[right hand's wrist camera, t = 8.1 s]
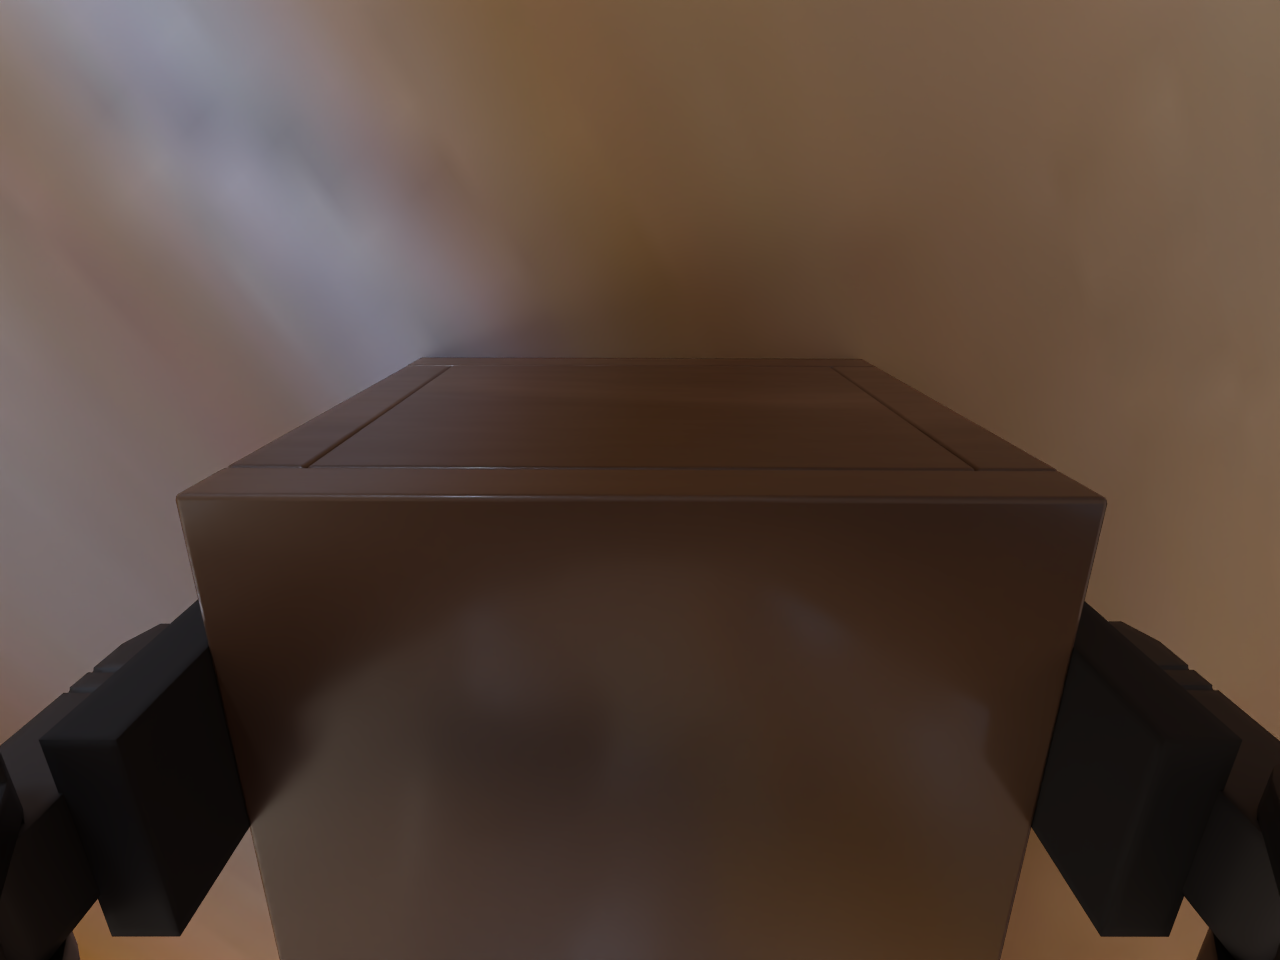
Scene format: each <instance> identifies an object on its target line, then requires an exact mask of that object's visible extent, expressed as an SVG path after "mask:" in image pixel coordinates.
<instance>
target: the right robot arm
mask: <svg viewBox="0 0 1280 960" xmlns="http://www.w3.org/2000/svg"><path fill="white" fill-rule="evenodd" d="M249 827H250V826H249V821H248V817H247V812H246V808H245V804H244V799H243V795H242V790H241V786H240V781H239V777H238V773H237V768H236V764H235V759H234V755H233V751H232V746H231V742H230V737H229V733H228V728H227V724H226V720H225V715H224V711H223V706H222V702H221V697H220V693H219V689H218V684H217V680H216V675H215V671H214V667H213V662H212V658H211V653H210V649H209V644H208V640H207V636H206V631H205V627H204V622H203V618H202V614H201V609H200V605H199V600H197V601H196V602H195V603H194V604H192V605H191V606H190V607H189V608H188V609H187V610H186V611H184V612H183V613H182V614H181V615H180V616H179V617H178V618H176V619H175V620H174V621H173V622H172V623H171V624H159V625H157V626H155V627H153V628H152V629H150V630H148V631H146V632H144V633H142V634H140V635H138V636H136V637H135V638H133V639H131V640H129V641H127V642H125V643H123V644H122V645H120V646H119V647H118V648H117V649H116V650H114V651H113V652H112V653H111V654H110V655H108V656H107V657H106V658H105V659H104V660H102V661H101V662H100V663H99V664H98V665H96V666H95V667H94V671H93V673H87V674H86V675H84V676H83V677H82V678H81V679H80V680H78V681H77V682H76V683H75V684H74V685H73V686H71V687H70V691H69V693H63V694H62V695H61V696H59V697H58V698H57V699H56V700H55V701H53V702H52V703H51V704H50V705H49V706H47V707H46V708H45V709H44V710H43V711H41V712H40V713H39V714H38V715H37V716H35V717H34V718H33V719H32V720H31V721H29V722H28V723H27V724H26V725H25V726H23V727H22V728H21V729H20V730H19V731H17V732H16V733H15V734H14V735H13V736H11V737H10V738H9V739H8V740H7V741H6V742H4V743H3V744H2V745H1V746H0V960H80V957H79V950H78V944H77V942H76V939H75V937H74V934H73V932H72V931H73V929H74V928H75V927H76V926H77V924H78V923H79V922H80V920H81V919H82V918H83V917H84V915H85V914H86V913H87V912H88V910H89V909H90V908H91V906H92V905H93V904H94V903H95V901H96V900H97V899H98V900H99V903H100V905H101V908H102V911H103V913H104V916H105V919H106V921H107V924H108V927H109V929H110V932H111V935H112V936H181V934H182V932H183V931H184V929H185V928H186V926H187V925H188V923H189V921H190V920H191V918H192V917H193V915H194V914H195V912H196V910H197V909H198V907H199V906H200V904H201V902H202V901H203V899H204V898H205V896H206V895H207V893H208V891H209V890H210V888H211V887H212V885H213V884H214V882H215V880H216V879H217V877H218V876H219V874H220V873H221V871H222V869H223V868H224V866H225V865H226V863H227V861H228V860H229V858H230V857H231V855H232V854H233V852H234V850H235V849H236V847H237V846H238V844H239V843H240V841H241V839H242V838H243V836H244V835H245V833H246V832H247V830H248V828H249ZM1031 827H1032V829H1033V830H1034V832H1035V833H1036V835H1037V837H1038V838H1039V840H1040V841H1041V843H1042V844H1043V846H1044V848H1045V849H1046V851H1047V852H1048V854H1049V855H1050V857H1051V859H1052V860H1053V862H1054V863H1055V865H1056V866H1057V868H1058V870H1059V871H1060V873H1061V874H1062V876H1063V878H1064V879H1065V881H1066V882H1067V884H1068V885H1069V887H1070V889H1071V890H1072V892H1073V893H1074V895H1075V896H1076V898H1077V900H1078V901H1079V903H1080V904H1081V906H1082V907H1083V909H1084V911H1085V912H1086V914H1087V915H1088V917H1089V919H1090V920H1091V922H1092V923H1093V925H1094V926H1095V928H1096V930H1097V931H1098V933H1099V934H1100V936H1101V937H1169V935H1170V932H1171V930H1172V927H1173V924H1174V922H1175V919H1176V916H1177V914H1178V911H1179V908H1180V906H1181V903H1182V900H1183V898H1184V896H1185V898H1186V899H1187V900H1188V901H1189V903H1190V904H1191V905H1192V906H1193V908H1194V909H1195V910H1196V911H1197V913H1198V914H1199V915H1200V916H1201V918H1202V919H1203V920H1204V922H1205V923H1206V924H1207V925H1208V927H1209V929H1208V932H1207V934H1206V937H1205V939H1204V942H1203V944H1202V947H1201V949H1200V952H1199V954H1198V957H1197V959H1196V960H1280V741H1279V740H1278V739H1276V738H1275V737H1274V736H1273V735H1272V734H1270V733H1269V732H1268V731H1267V730H1266V729H1264V728H1263V727H1262V726H1261V725H1260V724H1258V723H1257V722H1256V721H1255V720H1254V719H1252V718H1251V717H1250V716H1249V715H1248V714H1246V713H1245V712H1244V711H1243V710H1242V709H1240V708H1239V707H1238V706H1237V705H1235V704H1234V703H1233V702H1232V701H1231V700H1229V699H1228V698H1227V697H1226V696H1225V695H1223V694H1222V693H1221V692H1220V691H1219V690H1213V689H1212V685H1211V684H1210V683H1209V682H1208V681H1207V680H1205V679H1204V678H1203V677H1202V676H1201V675H1199V674H1198V673H1197V672H1196V671H1194V670H1189V669H1188V665H1187V664H1186V663H1185V662H1184V661H1182V660H1181V659H1180V658H1179V657H1178V656H1176V655H1175V654H1174V653H1173V652H1172V651H1170V650H1169V649H1168V648H1167V647H1166V646H1164V645H1163V644H1162V643H1161V642H1159V641H1158V640H1156V639H1154V638H1152V637H1150V636H1148V635H1146V634H1144V633H1142V632H1140V631H1138V630H1137V629H1135V628H1133V627H1131V626H1129V625H1127V624H1125V623H1123V622H1108V621H1107V620H1106V619H1104V618H1103V617H1102V616H1101V615H1100V614H1099V613H1098V612H1096V611H1095V610H1094V609H1093V608H1092V607H1091V606H1090V605H1089V604H1087V603H1086V602H1085V601H1084V604H1083V608H1082V613H1081V617H1080V621H1079V625H1078V630H1077V634H1076V638H1075V642H1074V647H1073V651H1072V655H1071V659H1070V664H1069V668H1068V672H1067V676H1066V681H1065V685H1064V689H1063V693H1062V698H1061V702H1060V706H1059V711H1058V715H1057V719H1056V723H1055V728H1054V732H1053V736H1052V740H1051V745H1050V749H1049V753H1048V757H1047V762H1046V766H1045V770H1044V774H1043V779H1042V783H1041V787H1040V791H1039V796H1038V800H1037V804H1036V808H1035V813H1034V817H1033V821H1032V825H1031Z"/></svg>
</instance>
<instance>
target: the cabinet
mask: <svg viewBox="0 0 1280 960" xmlns="http://www.w3.org/2000/svg"><path fill="white" fill-rule="evenodd" d="M176 503H177V507H178V512H179V516H180V521H181V525H182V530H183V534H184V538H185V543H186V547H187V552H188V556H189V560H190V565H191V569H192V574H193V578H194V583H195V587H196V591H197V596H198V600H199V605H200V609H201V614H202V618H203V622H204V627H205V631H206V636H207V640H208V644H209V649H210V653H211V658H212V662H213V667H214V671H215V675H216V680H217V684H218V689H219V693H220V697H221V702H222V706H223V711H224V715H225V720H226V724H227V728H228V733H229V737H230V742H231V746H232V751H233V755H234V759H235V764H236V768H237V773H238V777H239V781H240V786H241V790H242V795H243V799H244V804H245V808H246V812H247V817H248V821H249V826H250V830H251V834H252V839H253V843H254V848H255V852H256V857H257V861H258V865H259V870H260V874H261V879H262V883H263V888H264V892H265V896H266V901H267V905H268V910H269V914H270V918H271V923H272V927H273V932H274V936H275V941H276V945H277V949H278V954H279V958H280V960H1000V957H1001V953H1002V949H1003V945H1004V940H1005V936H1006V932H1007V928H1008V923H1009V919H1010V915H1011V910H1012V906H1013V902H1014V898H1015V893H1016V889H1017V885H1018V881H1019V876H1020V872H1021V868H1022V864H1023V859H1024V855H1025V851H1026V847H1027V842H1028V838H1029V834H1030V830H1031V825H1032V821H1033V817H1034V813H1035V808H1036V804H1037V800H1038V796H1039V791H1040V787H1041V783H1042V779H1043V774H1044V770H1045V766H1046V762H1047V757H1048V753H1049V749H1050V745H1051V740H1052V736H1053V732H1054V728H1055V723H1056V719H1057V715H1058V711H1059V706H1060V702H1061V698H1062V693H1063V689H1064V685H1065V681H1066V676H1067V672H1068V668H1069V664H1070V659H1071V655H1072V651H1073V647H1074V642H1075V638H1076V634H1077V630H1078V625H1079V621H1080V617H1081V613H1082V608H1083V604H1084V600H1085V596H1086V591H1087V587H1088V583H1089V579H1090V574H1091V570H1092V566H1093V562H1094V557H1095V553H1096V549H1097V545H1098V540H1099V536H1100V532H1101V528H1102V523H1103V519H1104V515H1105V511H1106V506H1107V500H1106V498H1105V497H1103V496H1101V495H1099V494H1098V493H1096V492H1094V491H1092V490H1091V489H1089V488H1087V487H1085V486H1084V485H1082V484H1080V483H1078V482H1076V481H1075V480H1073V479H1071V478H1069V477H1068V476H1066V475H1064V474H1062V473H1060V472H1058V471H1057V470H1056V469H1055V468H1053V467H1051V466H1049V465H1048V464H1046V463H1044V462H1042V461H1040V460H1039V459H1037V458H1035V457H1033V456H1032V455H1030V454H1028V453H1026V452H1025V451H1023V450H1021V449H1019V448H1018V447H1016V446H1014V445H1012V444H1011V443H1009V442H1007V441H1005V440H1003V439H1002V438H1000V437H998V436H996V435H995V434H993V433H991V432H989V431H988V430H986V429H984V428H982V427H981V426H979V425H977V424H975V423H974V422H972V421H970V420H968V419H966V418H965V417H963V416H961V415H959V414H958V413H956V412H954V411H952V410H951V409H949V408H947V407H945V406H944V405H942V404H940V403H938V402H937V401H935V400H933V399H931V398H929V397H928V396H926V395H924V394H922V393H921V392H919V391H917V390H915V389H914V388H912V387H910V386H908V385H907V384H905V383H903V382H901V381H900V380H898V379H896V378H894V377H892V376H891V375H889V374H887V373H885V372H884V371H882V370H880V369H878V368H876V367H875V366H873V365H871V364H869V363H868V362H866V361H864V360H862V359H648V358H420V359H418V360H416V361H414V362H413V363H411V364H409V365H408V366H406V367H405V368H403V369H401V370H399V371H397V372H396V373H394V374H392V375H390V376H388V377H387V378H385V379H383V380H381V381H380V382H378V383H376V384H374V385H372V386H371V387H369V388H367V389H365V390H363V391H362V392H360V393H358V394H356V395H355V396H353V397H351V398H349V399H347V400H346V401H344V402H342V403H340V404H339V405H337V406H335V407H333V408H331V409H330V410H328V411H326V412H324V413H322V414H321V415H319V416H317V417H315V418H314V419H312V420H310V421H308V422H306V423H305V424H303V425H301V426H299V427H298V428H296V429H294V430H292V431H290V432H289V433H287V434H285V435H283V436H281V437H280V438H278V439H276V440H274V441H273V442H271V443H269V444H267V445H265V446H264V447H262V448H260V449H258V450H256V451H255V452H253V453H251V454H249V455H248V456H246V457H244V458H242V459H240V460H239V461H237V462H235V463H233V464H232V465H230V466H229V467H228V468H224V469H222V470H220V471H218V472H217V473H215V474H213V475H211V476H209V477H208V478H206V479H204V480H202V481H200V482H199V483H197V484H195V485H193V486H191V487H190V488H188V489H186V490H184V491H183V492H181V493H179V494H178V495H177V496H176Z"/></svg>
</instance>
